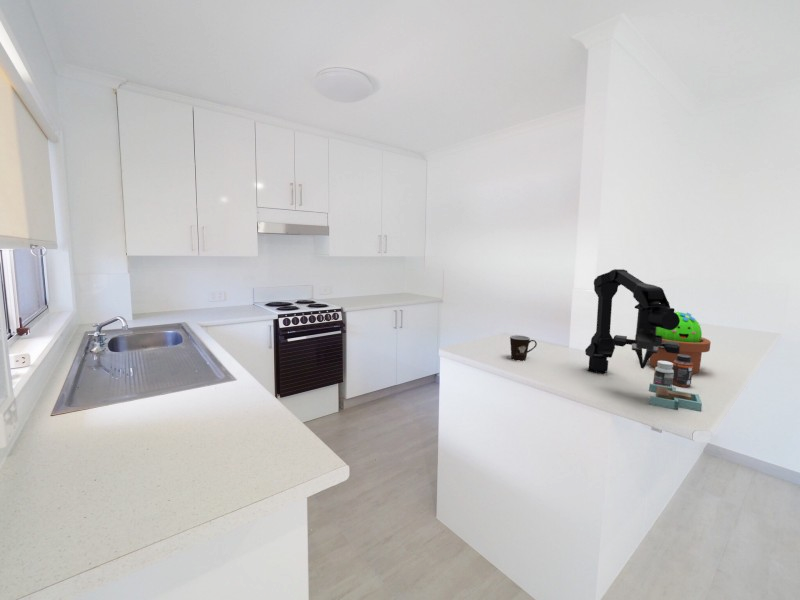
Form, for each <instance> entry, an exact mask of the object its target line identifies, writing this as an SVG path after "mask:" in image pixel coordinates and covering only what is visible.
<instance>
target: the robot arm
mask: <svg viewBox="0 0 800 600" xmlns="http://www.w3.org/2000/svg"><path fill="white" fill-rule="evenodd" d="M593 285H594V286H593V287H594V288H593V290H594V293H595V294H596V296H597V299H598V301H597V310H596V311H597V313H596V327H595V328H596V329H595V333H594V334H593V336H592V337H591V339H590V343H589V345H588V346H587V347H586V348H585V355H586V356H588V357H589V359H588V368H587V371H588V372H591V373H592V372H593V373H599V374H604V375H605V374H606V372H608V370H609V360H608V358H610V359H611V358H612V357H613V355H614V351H615V349H616V347H621V348H622V347H625V346H626V345H629V346H631V350H632V351H635V353H636V355H637V358H638V362H639V366H640V369H643V370H644V369H645V367H646V365H647V363H648V362H649V360H650V357H651V355H652V354H653V353H657V349H658V348H660V349H665V351H666V352H668V353H676V354H679V350H680V346H679V344H678V343H677V342H671V341H664V343H662V336H658V335H656V331H657V327H660V328H663V329H667V330H673V329H675V328H676V327H677V326H678V325H679V322H680V319H679V317H678V315H677V314H676V313H674V312H675V308H673V307H671V306H670V302H669V301H668V298H667V295H666V294H665V291H664V289H663V288H662V287H661V286H658V285H654V284H650V283H646V282H644V281H642V280H640V279H639V278H637V277H636V276H634V275H633V274H631V273H630V272H628V270H626V269H624V268H621V269H618V268H617V269H616V268H614V269H612V270H610V271H608V272H606V273H603V274H600V275H597V276H596V278H594V280H593ZM619 286H623V287H624V288H625V289H627V290H629V291H630V292H631V293H632V294H633V295H632V298H633V299H635V301H636V302H637V303H638V304H636V305H635V306H634V309H636V310H637V317H636V319H637V320H636V330H635V336H634V337H635V338H634V339H631V338H628V337H627V335H620V334H616V335H614V336H612V334H611V322H612V307H613V298H614V297H615V295H616V294H617V292H618V291H619V289H618V288H619ZM643 350H645V354H644V357H643Z"/></svg>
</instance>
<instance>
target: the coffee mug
mask: <svg viewBox="0 0 800 600" xmlns="http://www.w3.org/2000/svg"><path fill="white" fill-rule="evenodd" d="M509 342H510V355H511V356H510V357H511V360H513V359H514V360H513V361H517V360H520V361H519V362H521V361H522V362H524V361H526V360H527V355H528V353H529V352H531V351H532V350H534V349H535V348H537V345H538V343H537V341H536V340H535V339H531V338H530V337H529V336H525V335H521V334H519V335H517V334H514V335H510V336H509ZM532 342H534V346H533V347H532V348H530V349H529V345H530V343H532ZM528 349H529V350H528ZM523 360H524V361H523Z"/></svg>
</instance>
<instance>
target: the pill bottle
mask: <svg viewBox="0 0 800 600" xmlns="http://www.w3.org/2000/svg"><path fill="white" fill-rule="evenodd" d="M657 365H658V367H656V368H655V367H654V373H653V374H654V375H653V382H652V384H656V385H662V386H668V387H673V384H672V383H673V375H674V371H673V369H672V367H673V363H671V362H668V361H658V362H657Z"/></svg>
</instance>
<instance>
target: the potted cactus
mask: <svg viewBox="0 0 800 600" xmlns="http://www.w3.org/2000/svg"><path fill="white" fill-rule="evenodd" d="M674 313H676V314H677V315H678V317H679V319H680V322H679V325H678V326H677V327H676V328H675V329H673V330H667V329H663V328H660V327H657V331H656V335H658V336H662V343H664V341H671V342H677V343H678V344H679V346H680V350H679V354H682V355H688V356H690V357H691V360H690V361H691V362H692V363H693V371H692V375H695V374H698V373H699V372H700V371H701V362H702V353H707V352H710V349H711V341H710V340H709V339H707V338H705V337H703V333H702V328H701V325H702V324H701V323H700V324H699V322H698V320H697V319H696V318H694V317H693V315H692V314H691V313H689V312H682V311H681V312H680V311H674ZM679 354H676V353H668V352H666V351H665V349H660V348H658V349H657V353H653V354H652V355H651V357H650V358H649V360H648V362H649V365H650V366H651V367H653V368H654V369H655V368H656V367H658V365H657V362H658V361H668V362H671V363H673V362H674V360H676V359H677V355H679ZM672 369H673V367H672Z"/></svg>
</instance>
